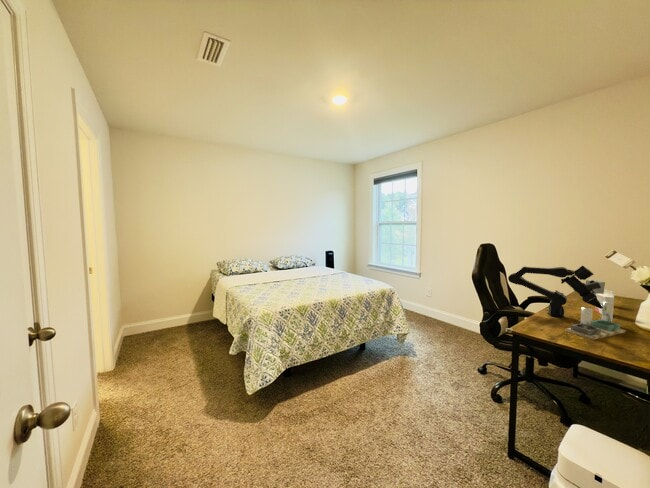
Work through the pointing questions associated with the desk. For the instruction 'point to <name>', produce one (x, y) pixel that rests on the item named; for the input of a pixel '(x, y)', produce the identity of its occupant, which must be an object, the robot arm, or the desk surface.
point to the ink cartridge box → (604, 299)
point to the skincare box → (597, 291)
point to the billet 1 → (586, 318)
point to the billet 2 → (607, 311)
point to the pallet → (596, 329)
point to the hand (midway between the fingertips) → (601, 306)
